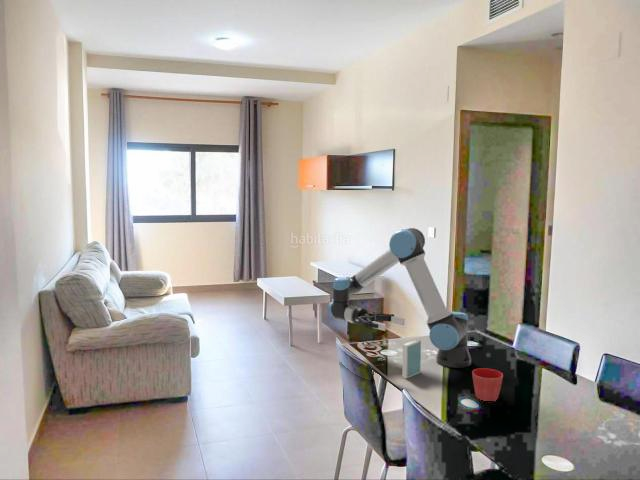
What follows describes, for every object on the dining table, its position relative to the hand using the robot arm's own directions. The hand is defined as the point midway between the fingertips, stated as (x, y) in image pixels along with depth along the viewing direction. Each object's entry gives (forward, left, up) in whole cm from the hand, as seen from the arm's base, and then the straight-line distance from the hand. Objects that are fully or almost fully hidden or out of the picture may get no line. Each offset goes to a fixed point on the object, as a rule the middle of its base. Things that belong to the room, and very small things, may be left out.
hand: (394, 324), depth 218 cm
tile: (-7, +6, -20) cm, 22 cm away
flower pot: (-33, +27, -20) cm, 47 cm away
